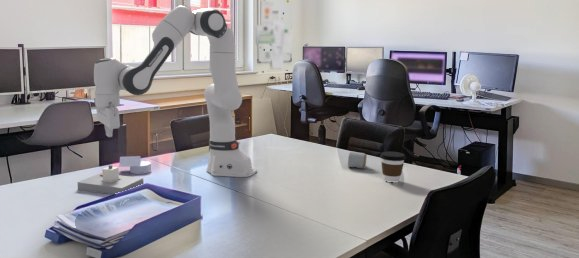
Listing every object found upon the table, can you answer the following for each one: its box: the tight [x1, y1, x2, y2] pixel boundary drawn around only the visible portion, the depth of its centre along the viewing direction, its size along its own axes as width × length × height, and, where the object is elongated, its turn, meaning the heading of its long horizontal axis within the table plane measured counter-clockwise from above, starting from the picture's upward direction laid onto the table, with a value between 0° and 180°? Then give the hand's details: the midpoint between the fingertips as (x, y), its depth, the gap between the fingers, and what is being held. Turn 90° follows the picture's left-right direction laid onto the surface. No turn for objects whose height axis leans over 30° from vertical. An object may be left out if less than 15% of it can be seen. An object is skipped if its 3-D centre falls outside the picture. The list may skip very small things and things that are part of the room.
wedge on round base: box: [118, 155, 152, 175], centre depth 219 cm, size 9×7×13 cm
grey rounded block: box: [347, 150, 368, 169], centre depth 236 cm, size 11×8×8 cm
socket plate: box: [77, 172, 144, 195], centre depth 195 cm, size 20×14×4 cm
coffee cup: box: [379, 151, 407, 182], centre depth 213 cm, size 11×11×12 cm
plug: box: [101, 164, 120, 183], centre depth 195 cm, size 4×4×8 cm
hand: (109, 136), depth 192 cm, fingers closed
